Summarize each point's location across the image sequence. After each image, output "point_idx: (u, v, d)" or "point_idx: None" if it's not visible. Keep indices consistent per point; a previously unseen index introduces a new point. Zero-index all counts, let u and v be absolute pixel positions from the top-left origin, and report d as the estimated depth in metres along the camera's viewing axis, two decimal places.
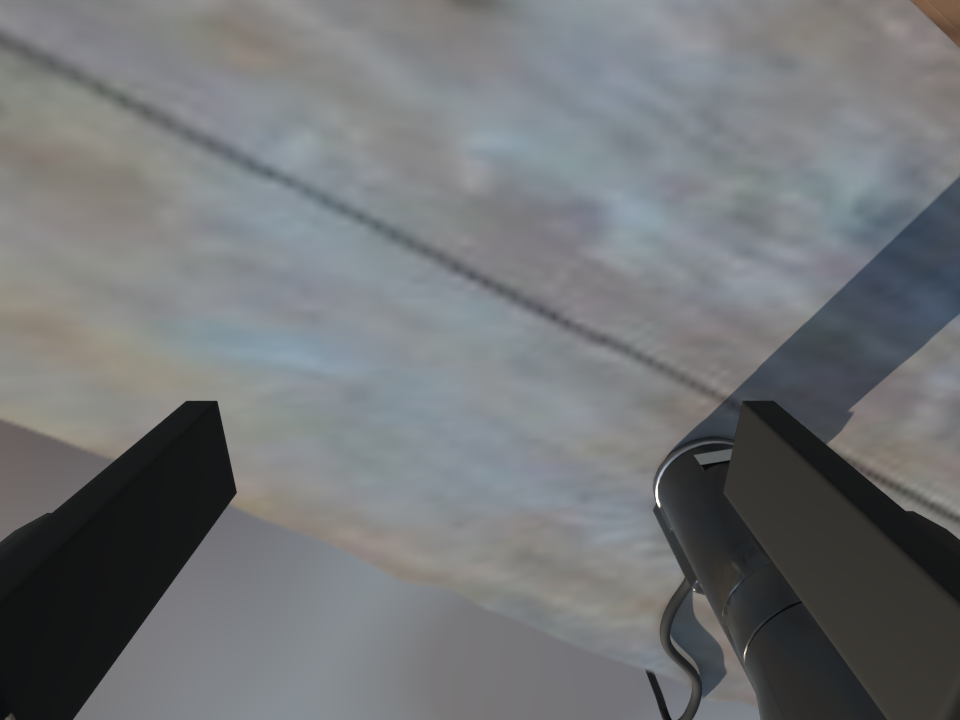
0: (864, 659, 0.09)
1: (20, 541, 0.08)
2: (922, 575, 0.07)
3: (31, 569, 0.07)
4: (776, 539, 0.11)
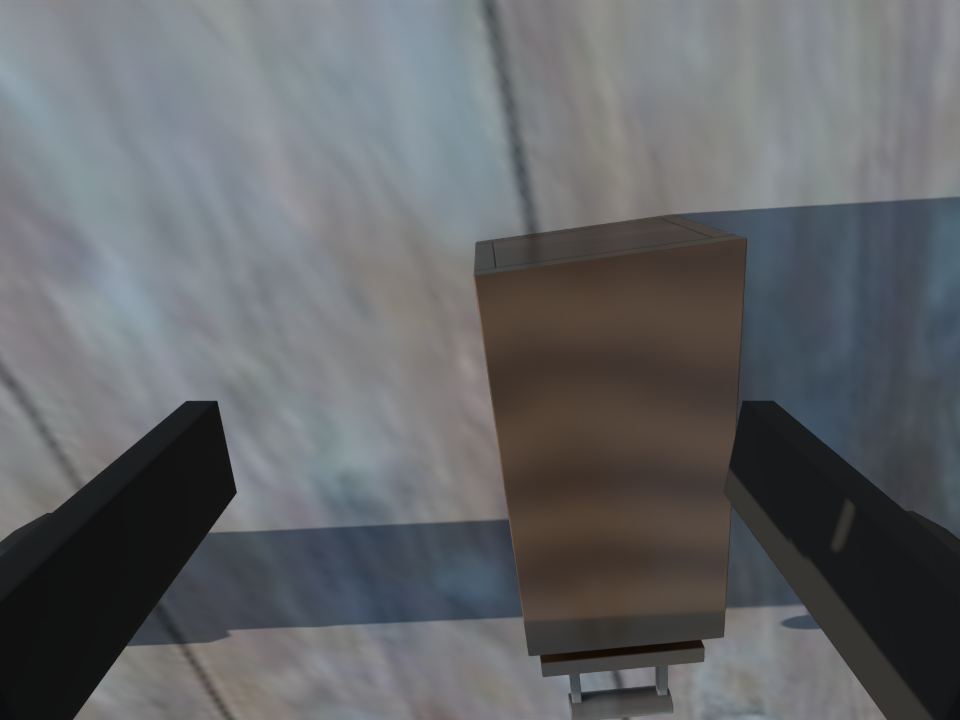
0: (863, 658, 0.09)
1: (20, 541, 0.08)
2: (922, 575, 0.07)
3: (31, 569, 0.07)
4: (776, 539, 0.11)
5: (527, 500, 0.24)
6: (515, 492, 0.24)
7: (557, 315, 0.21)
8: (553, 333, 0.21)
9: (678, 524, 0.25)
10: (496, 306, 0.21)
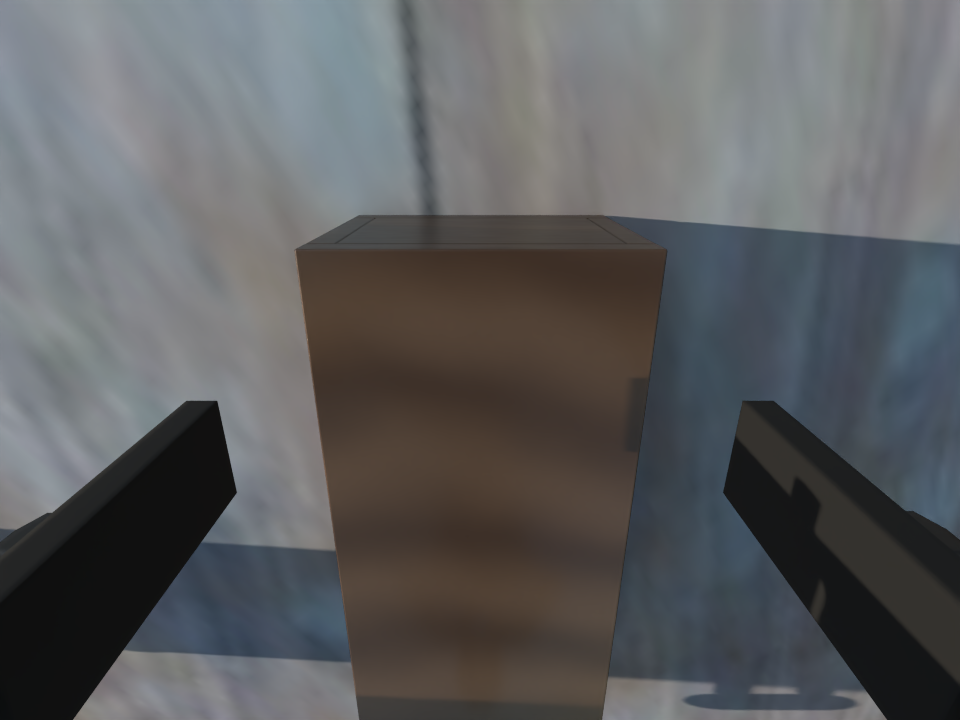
0: (863, 659, 0.09)
1: (20, 541, 0.08)
2: (922, 575, 0.07)
3: (31, 569, 0.07)
4: (776, 539, 0.11)
5: (362, 552, 0.19)
6: (347, 541, 0.19)
7: (407, 319, 0.15)
8: (402, 342, 0.16)
9: (553, 601, 0.20)
10: (325, 296, 0.15)
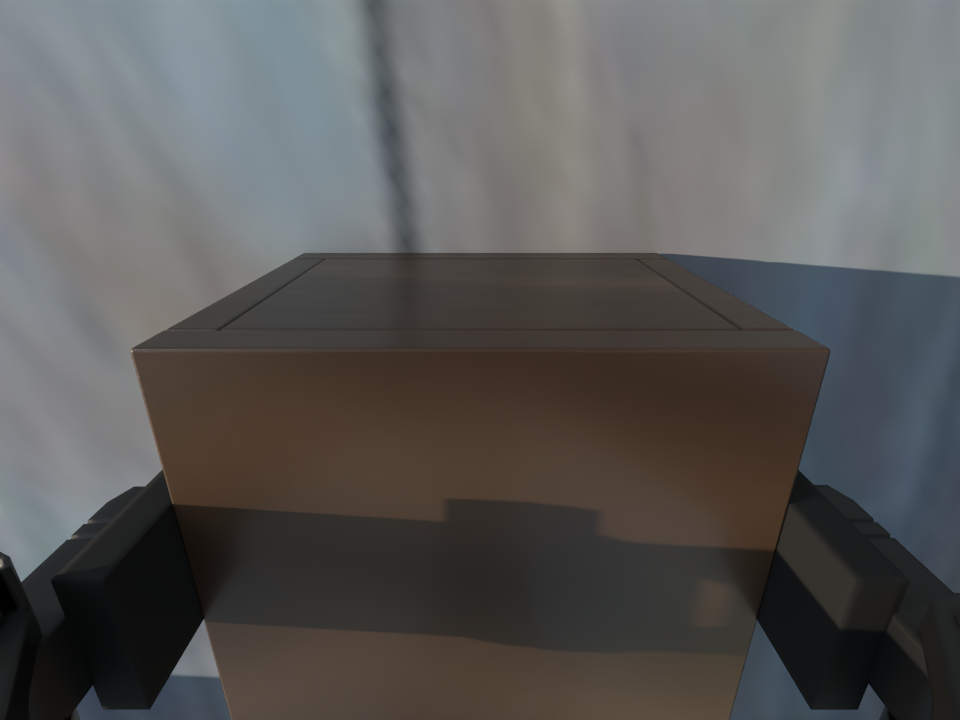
0: (771, 618, 0.09)
1: (126, 507, 0.09)
2: (812, 536, 0.08)
3: (142, 531, 0.08)
4: None
5: None
6: None
7: (348, 465, 0.08)
8: (341, 503, 0.09)
9: None
10: (196, 428, 0.08)
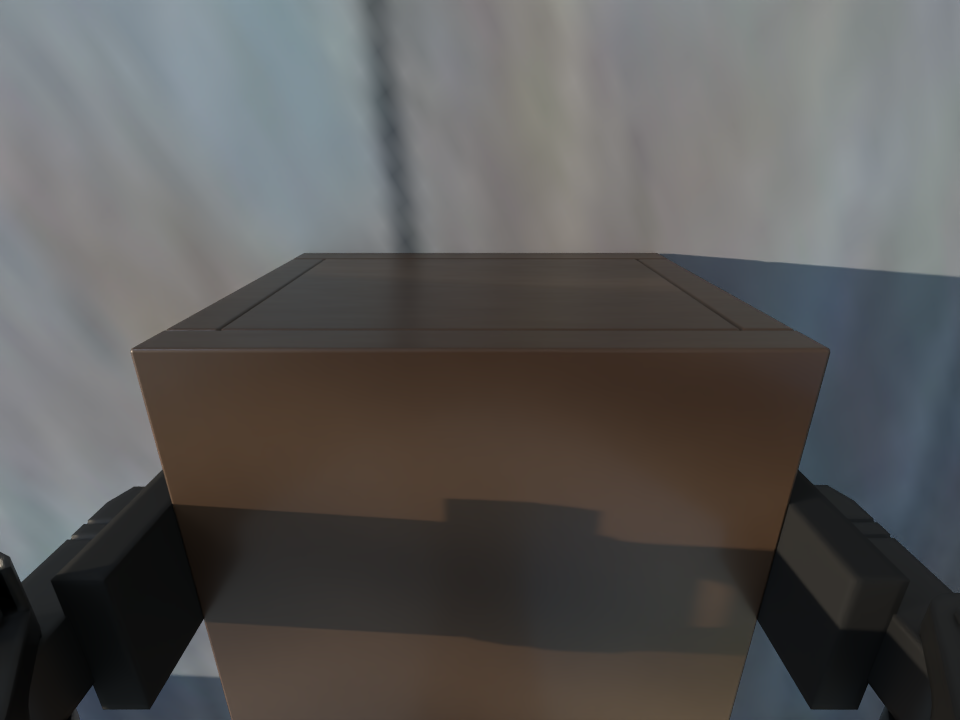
0: (771, 618, 0.09)
1: (126, 507, 0.09)
2: (812, 536, 0.08)
3: (142, 530, 0.08)
4: None
5: None
6: None
7: (348, 466, 0.08)
8: (340, 503, 0.09)
9: None
10: (195, 428, 0.08)
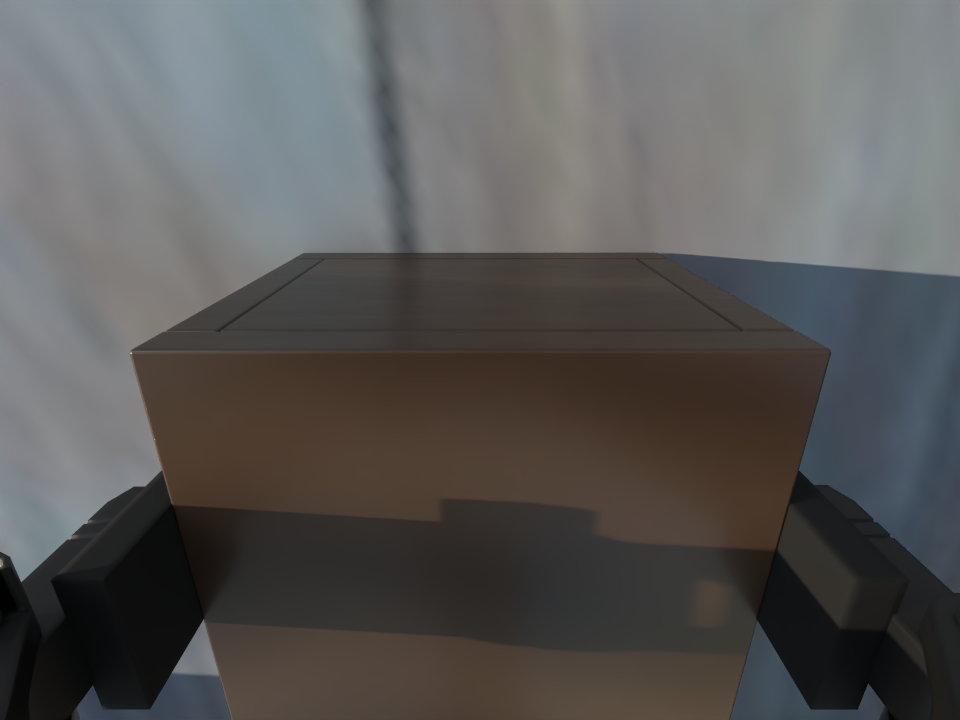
0: (771, 618, 0.09)
1: (126, 507, 0.09)
2: (812, 536, 0.08)
3: (143, 530, 0.08)
4: None
5: None
6: None
7: (348, 467, 0.08)
8: (340, 504, 0.09)
9: None
10: (195, 430, 0.08)
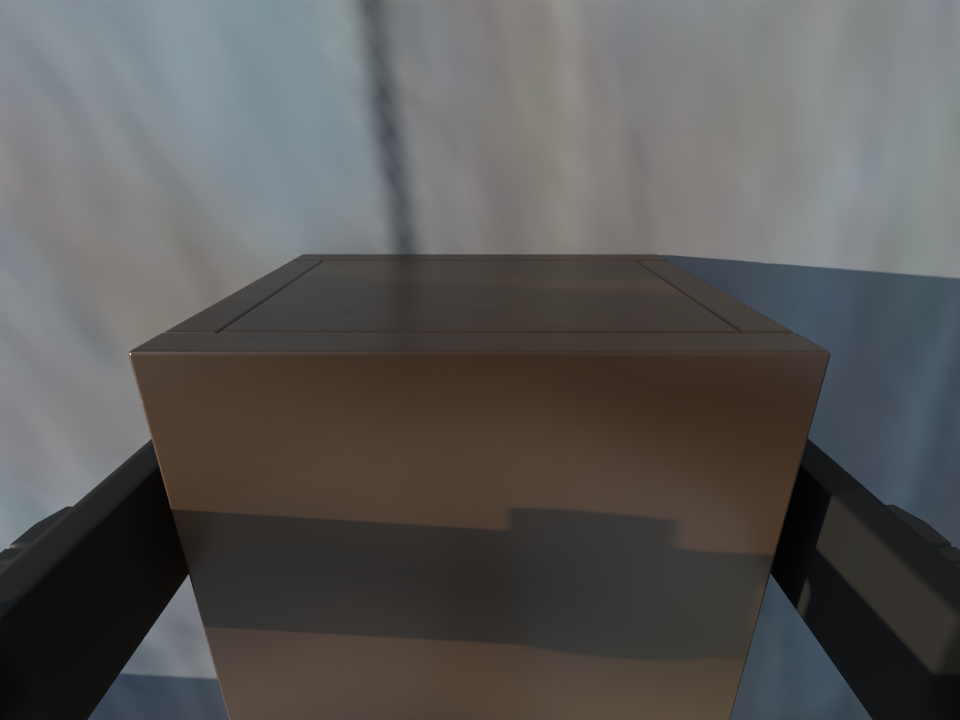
0: (842, 649, 0.09)
1: (44, 533, 0.08)
2: (897, 566, 0.08)
3: (56, 559, 0.08)
4: None
5: None
6: None
7: (347, 468, 0.08)
8: (340, 506, 0.09)
9: None
10: (194, 431, 0.08)
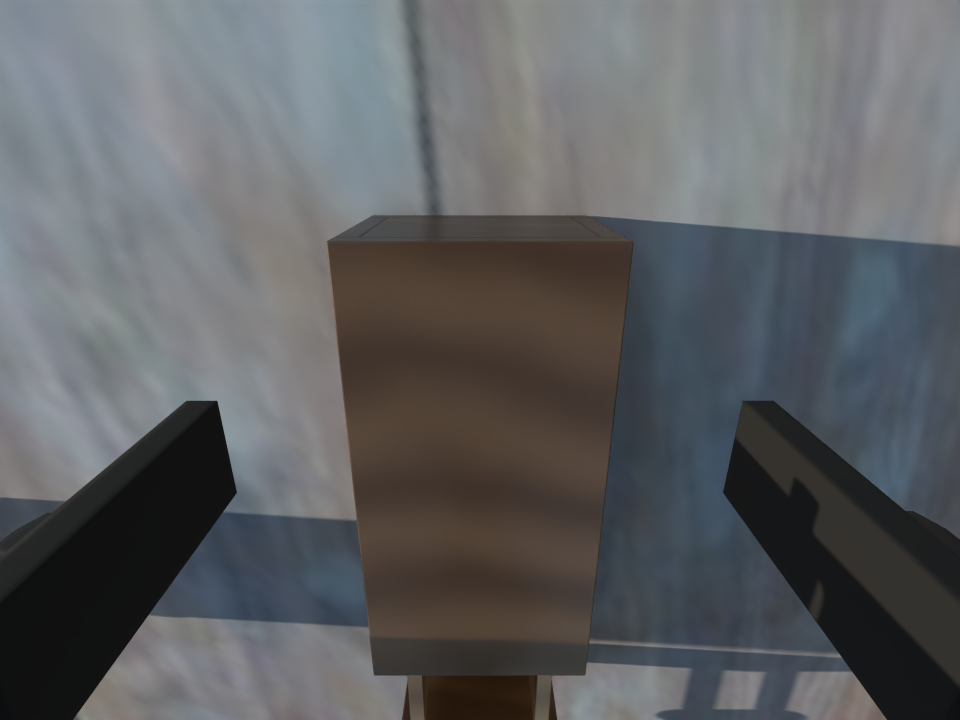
0: (863, 659, 0.09)
1: (20, 541, 0.08)
2: (922, 575, 0.07)
3: (31, 569, 0.07)
4: (776, 539, 0.11)
5: (378, 504, 0.22)
6: (364, 494, 0.22)
7: (419, 300, 0.18)
8: (414, 320, 0.19)
9: (542, 548, 0.23)
10: (350, 280, 0.18)
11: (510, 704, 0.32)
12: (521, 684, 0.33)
